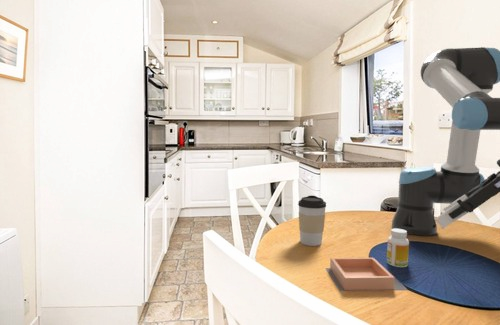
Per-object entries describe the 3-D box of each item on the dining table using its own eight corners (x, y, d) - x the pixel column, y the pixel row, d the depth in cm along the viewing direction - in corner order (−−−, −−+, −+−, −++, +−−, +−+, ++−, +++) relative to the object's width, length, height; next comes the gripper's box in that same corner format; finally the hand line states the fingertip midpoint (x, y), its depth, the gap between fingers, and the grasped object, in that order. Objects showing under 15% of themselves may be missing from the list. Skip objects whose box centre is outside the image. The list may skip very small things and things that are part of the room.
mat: (384, 269, 87) (384, 267, 87) (407, 291, 75) (407, 289, 75) (325, 269, 86) (325, 268, 86) (339, 292, 75) (339, 290, 75)
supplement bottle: (411, 264, 90) (413, 230, 89) (402, 270, 87) (404, 234, 86) (391, 258, 94) (393, 226, 93) (382, 263, 91) (384, 230, 90)
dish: (372, 268, 87) (373, 257, 87) (394, 289, 75) (394, 277, 75) (330, 268, 86) (330, 257, 86) (344, 290, 75) (345, 278, 74)
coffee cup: (325, 248, 102) (326, 201, 101) (296, 245, 104) (297, 199, 102) (324, 238, 111) (326, 195, 109) (297, 236, 113) (299, 194, 111)
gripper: (546, 183, 61) (447, 243, 71) (536, 171, 80) (460, 220, 91) (512, 153, 64) (422, 215, 74) (511, 148, 83) (439, 198, 94)
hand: (443, 218), depth 83 cm, fingers open, 13 cm apart
